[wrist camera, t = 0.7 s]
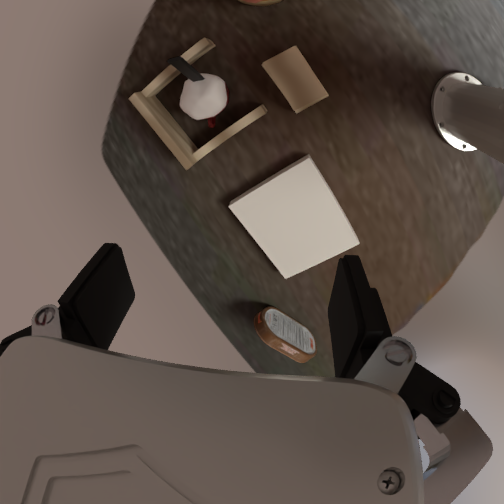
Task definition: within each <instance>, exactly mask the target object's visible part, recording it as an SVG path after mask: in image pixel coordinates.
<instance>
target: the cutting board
mask: <svg viewBox="0 0 504 504" xmlns="http://www.w3.org/2000/svg"><path fill="white" fill-rule="evenodd" d="M228 207H229V208H230V209H231V211H232V212H233V213H234V214H235V216H236V217H237V218H238V219H239V221H240V222H241V223H242V224H243V226H244V227H245V228H246V229H247V231H248V232H249V233H250V235H251V236H252V237H253V238H254V240H255V241H256V242H257V243H258V245H259V246H260V247H261V248H262V250H263V251H264V252H265V254H266V255H267V256H268V257H269V259H270V260H271V261H272V262H273V264H274V265H275V266H276V268H277V269H278V270H279V271H280V273H281V274H282V275H283V277H284V278H285V279H287V278H289V277H291V276H293V275H295V274H297V273H300V272H302V271H304V270H306V269H308V268H310V267H312V266H315V265H317V264H319V263H321V262H323V261H325V260H327V259H329V258H331V257H333V256H336V255H338V254H340V253H342V252H344V251H346V250H348V249H350V248H352V247H354V246H356V245H358V244H360V243H359V240H358V237H357V236H356V234H355V232H354V230H353V228H352V226H351V224H350V223H349V221H348V219H347V217H346V215H345V214H344V212H343V210H342V208H341V207H340V205H339V203H338V201H337V200H336V198H335V196H334V194H333V193H332V191H331V189H330V188H329V186H328V184H327V183H326V181H325V179H324V178H323V176H322V174H321V173H320V171H319V170H318V168H317V166H316V165H315V163H314V162H313V160H312V159H311V157H310V155H309V154H308V155H306V156H305V157H303V158H301V159H299V160H298V161H296V162H294V163H292V164H291V165H289V166H287V167H286V168H284V169H282V170H281V171H279V172H277V173H276V174H274V175H272V176H271V177H269V178H267V179H266V180H264V181H262V182H261V183H259V184H258V185H256V186H254V187H253V188H251V189H249V190H248V191H246V192H245V193H243V194H241V195H240V196H238V197H237V198H235V199H233V200H232V201H231V202H230V204H229V206H228Z"/></svg>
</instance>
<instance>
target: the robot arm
mask: <svg viewBox="0 0 504 504" xmlns="http://www.w3.org/2000/svg"><path fill="white" fill-rule="evenodd" d="M440 88H441V90H440ZM431 111H432V117H433V121H434V124H435V126H436V129H437V130H438V132H439V134H440V135H441V137H442V138H443V139H444V140H445V141H446V142H447V143H448V144H449V145H451V146H453V147H454V148H456V149H459V150H462V151H473V150H476V149H478V150H480V151H482V152H484V153H486V154H487V155H489V156H491V157H493V158H494V159H496V160H498V161H499V162H501V163H503V164H504V89H502V88H495V87H490V86H484V85H482V84H481V83H480V82H479V81H478V80H477V79H476V78H475V77H473V76H471V75H469V74H466V73H462V72H454V73H449V74H447V75H445V76H444V77H442V78H441V79H440V80H439V82H438V83H437V84H436V86H435V88H434V91H433V94H432V100H431ZM439 123H440V125H439ZM134 298H135V292H134V289H133V285H132V283H131V279H130V276H129V273H128V270H127V266H126V263H125V260H124V256H123V252H122V249H121V247H119V246H118V245H117V244H116V243H105V244H103V246H102V247H101V248H100V249H99V250H98V251H97V252H96V254H95V255H94V256H93V257H92V258H91V260H90V261H89V262H88V263H87V264H86V266H85V267H84V268H83V269H82V270H81V272H80V273H79V274H78V275H77V277H76V278H75V279H74V280H73V282H72V283H71V284H70V286H69V287H68V288H67V289H66V291H65V292H64V294H63V295H62V296H61V297H60V299H59V300H58V303H59V304H60V307H59V308H57V307H56V306H55V305H45V306H43V307H41V308H40V309H38V310H37V311H36V312H35V314H34V316H33V318H32V325H31V326H29V327H27V328H25V329H23V330H21V331H19V332H16V333H14V334H12V335H10V336H8V337H6V338H5V339H3V340H2V342H1V344H0V504H450V503H451V502H452V501H453V500H454V499H455V498H456V497H457V496H458V495H459V494H460V493H461V492H462V491H463V490H464V489H465V488H466V487H467V486H468V484H469V483H470V482H471V481H472V480H473V479H474V478H475V476H476V475H477V474H478V473H479V472H480V470H481V469H482V468H483V467H484V466H485V464H486V463H487V462H488V460H489V459H490V457H491V455H492V451H493V447H492V443H491V440H490V439H489V437H488V436H487V435H486V434H485V432H484V431H483V430H482V428H481V427H480V426H479V425H478V423H477V422H476V421H475V420H474V419H473V418H472V416H471V415H470V414H469V412H468V411H467V410H466V409H465V410H464V411H463V410H462V409H461V408H460V397H459V394H458V392H457V391H456V389H455V388H453V387H452V386H451V385H449V384H448V383H446V382H445V381H443V380H442V379H440V378H439V377H437V376H436V375H434V374H433V373H431V372H430V371H428V370H427V369H425V368H424V367H422V366H421V365H419V364H418V363H416V362H415V361H416V351H415V349H414V347H413V346H412V344H411V343H410V342H408V341H407V340H406V339H403V338H401V337H395V336H393V337H392V334H391V330H390V327H389V324H388V321H387V318H386V315H385V312H384V309H383V306H382V303H381V300H380V297H379V294H378V292H377V290H376V289H375V288H370V286H369V283H368V280H367V277H366V274H365V271H364V269H363V266H362V263H361V260H360V258H359V256H357V255H345V256H344V258H340V259H339V262H338V267H337V271H336V276H335V281H334V285H333V289H332V294H331V298H330V302H329V306H328V318H329V326H330V333H331V341H332V350H333V358H334V367H335V377H320V376H295V375H277V374H261V373H248V372H237V371H227V370H218V369H210V368H202V367H195V366H188V365H181V364H175V363H168V362H163V361H157V360H151V359H146V358H141V357H136V356H131V355H126V354H122V353H117V352H113V351H109V350H108V348H109V346H110V344H111V342H112V340H113V338H114V336H115V334H116V333H117V330H118V329H119V327H120V325H121V323H122V321H123V319H124V317H125V316H126V314H127V312H128V310H129V308H130V306H131V304H132V303H133V301H134ZM418 439H421V440H422V442H423V443H424V444H425V446H424V448H425V450H426V451H427V453H428V455H429V459H430V463H429V466H428V468H427V470H426V471H425V472H424V473H423V470H422V461H421V454H420V447H419V441H418ZM383 471H384V472H383ZM381 472H382V473H381Z"/></svg>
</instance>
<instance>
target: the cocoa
mask: <svg viewBox="0 0 504 504" xmlns="http://www.w3.org/2000/svg"><path fill="white" fill-rule="evenodd" d="M167 62H168V63H169V64H171V65H172V66H173V67H175V68H176V69H177V70H179V71H180V72H181V73H182V74H184V75H185V76H186V77H187V78H189V79H188V80H186V81H185V83H184V87H183V91H182V94H181V97H180V107H181V109H182V110H183V112H185V113H187V114H188V115H189V116H190V117H192V118H194V119H196V120H200V119H208V125H209V127H210V128H213V127H215V119H216V115H218V114H219V113H221V112H222V111H224V109H225V107H226V106H227V104H228V102H229V90H228V87H227V85H226V83H225V81H224V80H222V79H221V78H220V77H218V76H216V75H211V74H204V73H199V72H198V71H197V70H195V69H194V68H193V67H192V66H191V65H190V64H189V63H188V62H187V61H186V60H185V59H183V58H182V57H181V56H178V57H174V58H171V59H168V61H167Z"/></svg>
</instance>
